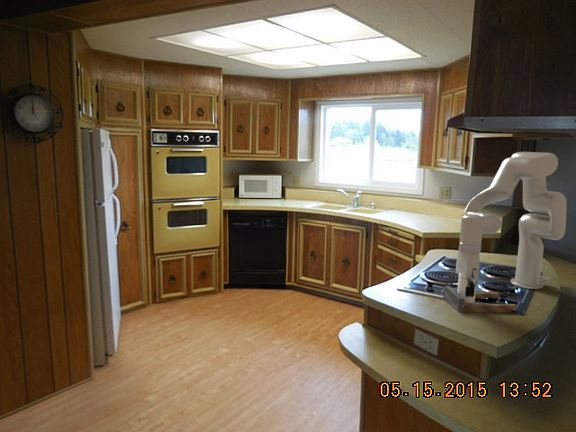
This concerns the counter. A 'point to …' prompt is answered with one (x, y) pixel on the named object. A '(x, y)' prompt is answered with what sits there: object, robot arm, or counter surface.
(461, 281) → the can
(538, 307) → the counter surface
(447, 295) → the guide track
